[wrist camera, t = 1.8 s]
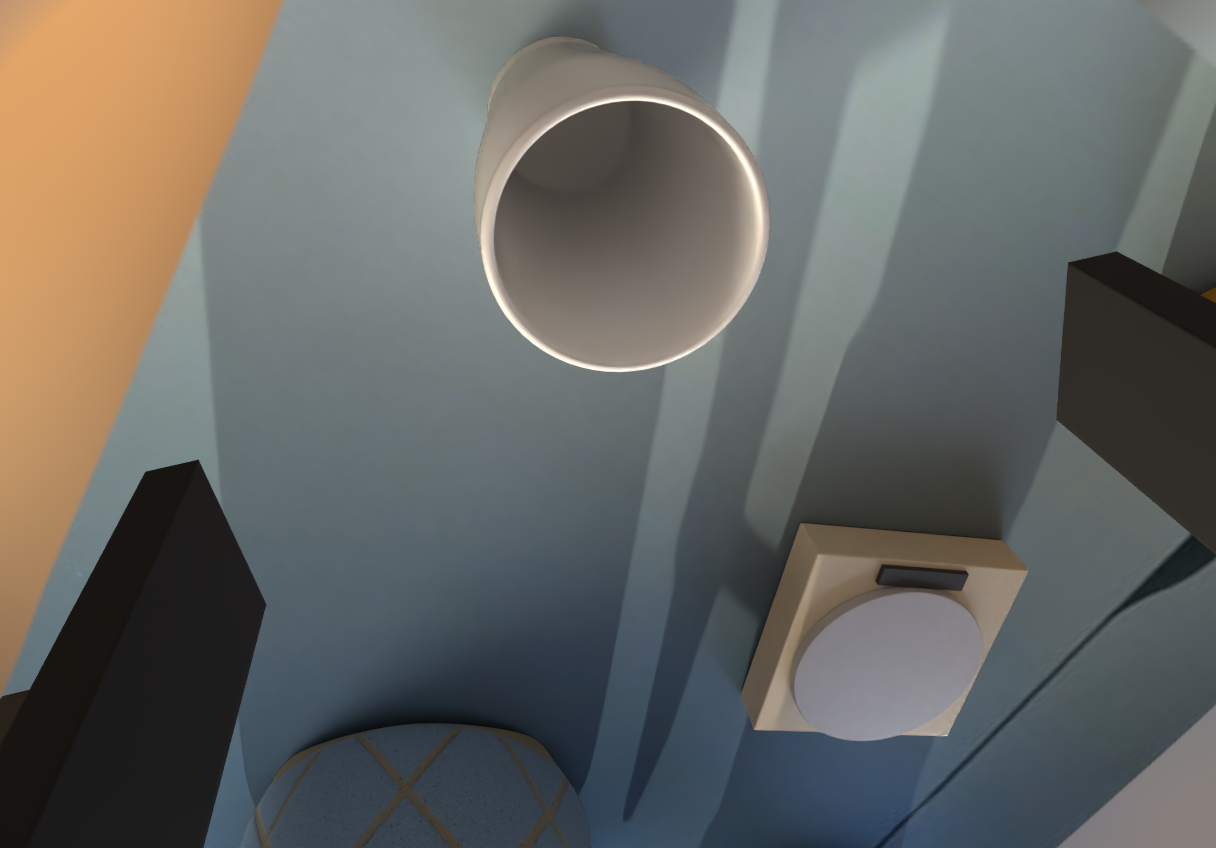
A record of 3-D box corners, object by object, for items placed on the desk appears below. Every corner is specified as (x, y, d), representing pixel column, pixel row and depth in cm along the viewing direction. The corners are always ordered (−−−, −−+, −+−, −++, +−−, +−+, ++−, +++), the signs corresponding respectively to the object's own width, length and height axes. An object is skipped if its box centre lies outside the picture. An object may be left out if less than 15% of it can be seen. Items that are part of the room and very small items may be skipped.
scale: (799, 522, 45) (822, 561, 42) (1003, 539, 47) (1036, 578, 44) (740, 694, 50) (756, 739, 47) (926, 702, 52) (952, 745, 49)
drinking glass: (467, 204, 35) (477, 379, 22) (464, 6, 32) (474, 76, 19) (645, 207, 36) (755, 376, 23) (659, 16, 33) (796, 88, 20)
